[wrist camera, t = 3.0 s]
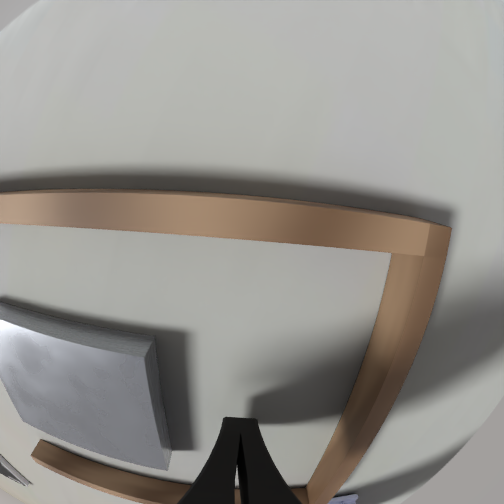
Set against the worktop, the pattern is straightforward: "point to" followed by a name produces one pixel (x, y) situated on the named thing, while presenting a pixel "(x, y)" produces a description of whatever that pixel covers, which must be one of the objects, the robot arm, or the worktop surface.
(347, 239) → the walnut u-shaped frame
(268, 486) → the robot arm
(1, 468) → the smartphone
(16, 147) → the worktop surface
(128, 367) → the cover plate
